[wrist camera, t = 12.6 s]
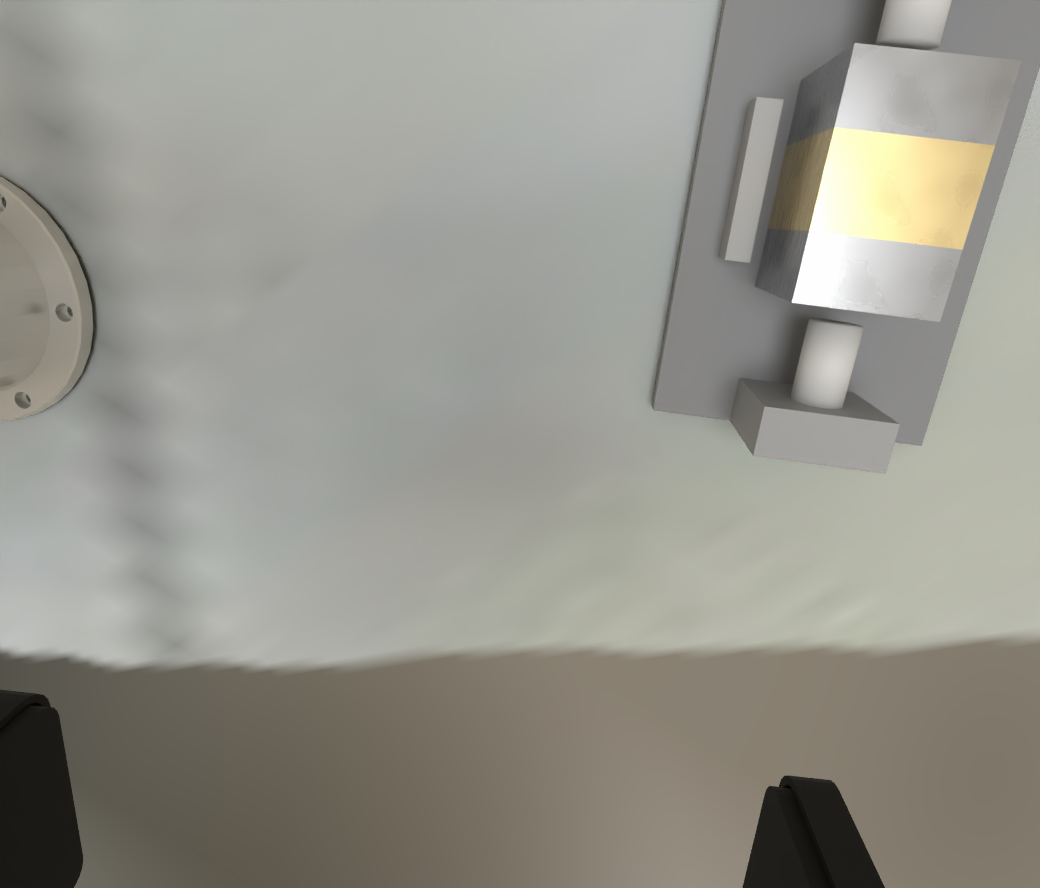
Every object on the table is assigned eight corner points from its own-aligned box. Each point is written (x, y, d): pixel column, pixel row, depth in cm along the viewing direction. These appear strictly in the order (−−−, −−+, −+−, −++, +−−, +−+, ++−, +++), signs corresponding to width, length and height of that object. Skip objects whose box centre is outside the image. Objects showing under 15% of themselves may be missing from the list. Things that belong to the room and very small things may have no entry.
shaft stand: (911, 439, 32) (979, 486, 26) (651, 404, 33) (662, 443, 27) (1068, -72, 25) (1202, -156, 20) (740, -99, 26) (779, -186, 21)
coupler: (801, 80, 27) (854, 43, 21) (932, 94, 27) (1021, 60, 21) (754, 286, 30) (791, 302, 24) (873, 302, 29) (939, 321, 24)
